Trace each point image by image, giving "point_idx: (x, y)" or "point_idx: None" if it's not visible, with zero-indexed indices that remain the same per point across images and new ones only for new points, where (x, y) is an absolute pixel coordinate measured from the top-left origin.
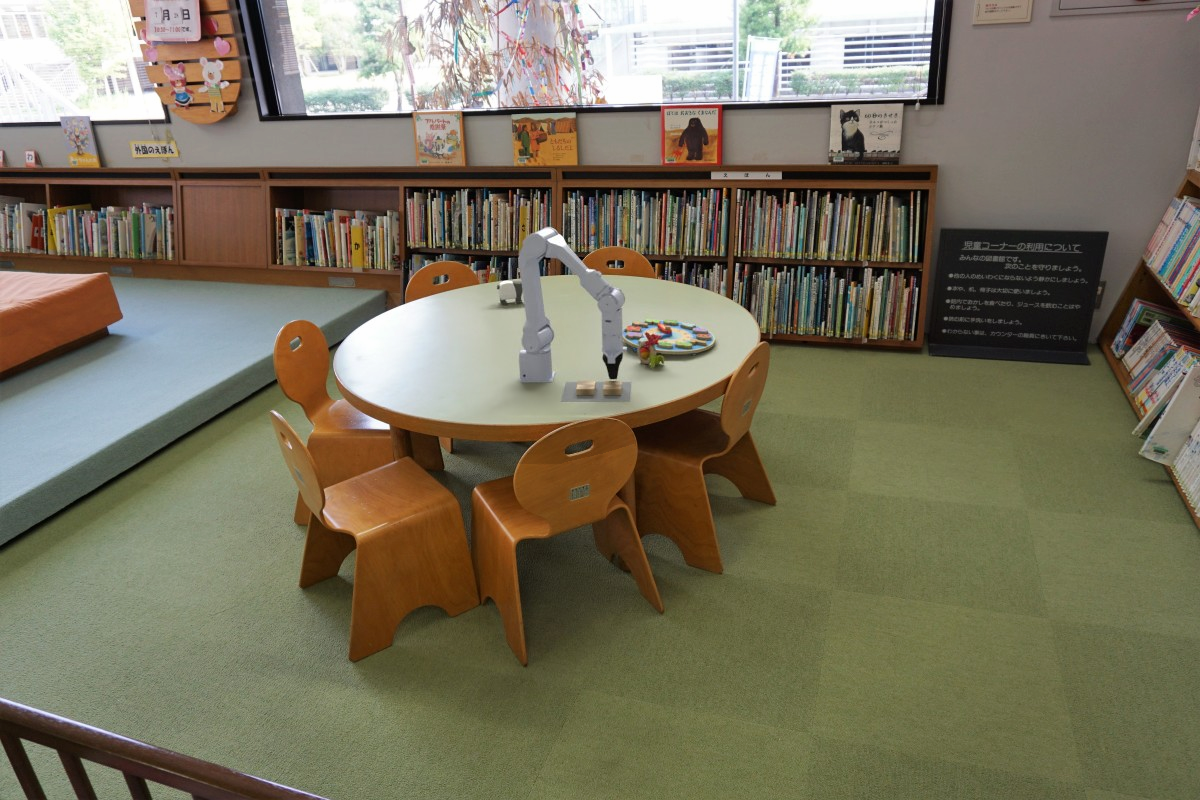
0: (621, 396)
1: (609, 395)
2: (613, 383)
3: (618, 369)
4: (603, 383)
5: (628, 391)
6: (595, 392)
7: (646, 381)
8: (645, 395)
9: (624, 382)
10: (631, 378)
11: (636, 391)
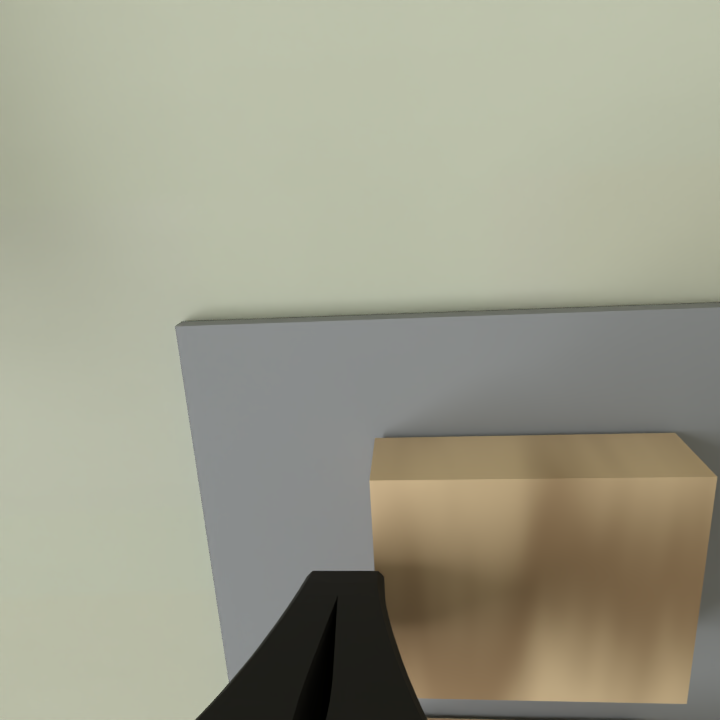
0: (706, 425)
1: None
2: (477, 589)
3: (405, 688)
4: None
5: (529, 343)
6: (548, 710)
7: (77, 102)
8: (635, 74)
9: (207, 414)
10: (14, 329)
11: (471, 229)
